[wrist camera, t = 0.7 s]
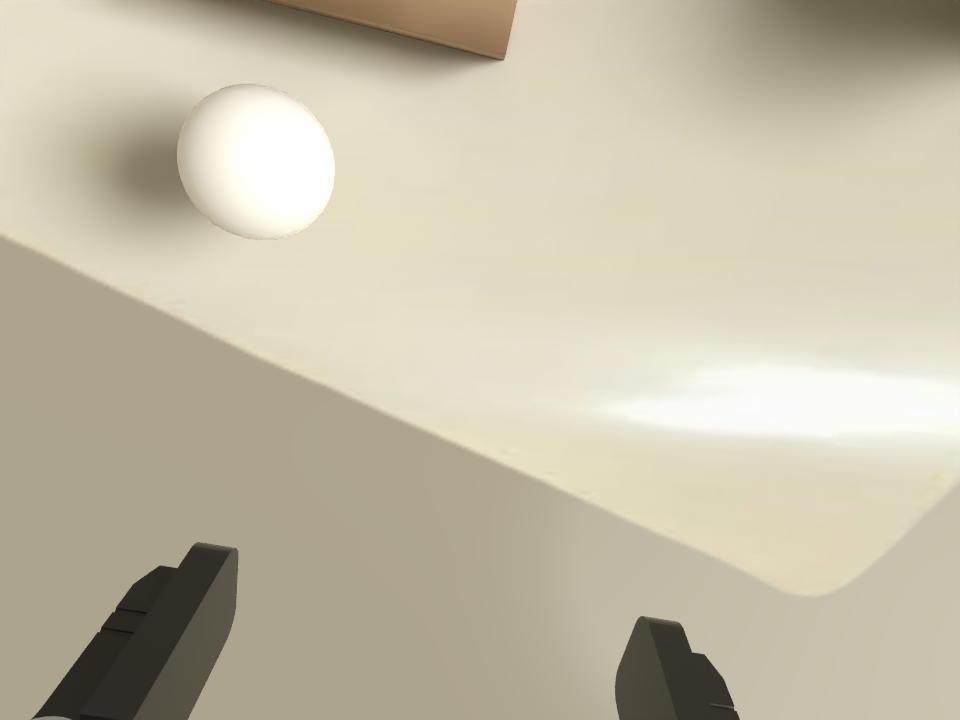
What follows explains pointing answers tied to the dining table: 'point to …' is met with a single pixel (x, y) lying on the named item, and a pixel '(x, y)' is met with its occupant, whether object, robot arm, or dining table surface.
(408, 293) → the dining table surface
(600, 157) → the dining table surface
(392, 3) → the brown wooden flat block
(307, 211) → the lightbulb
